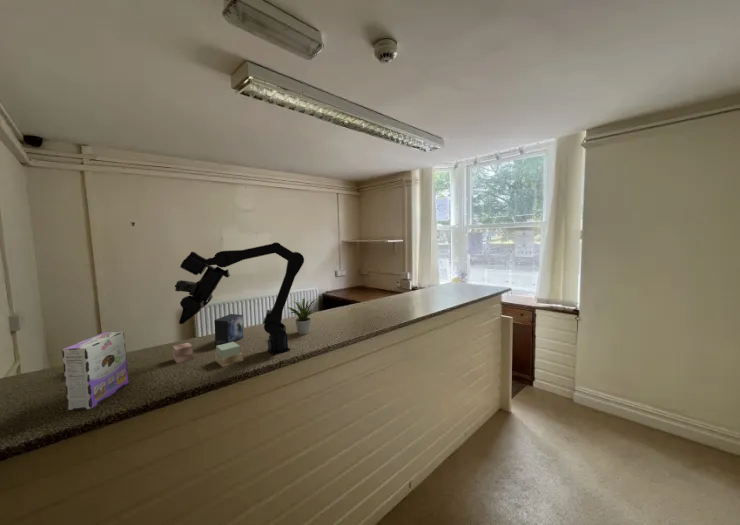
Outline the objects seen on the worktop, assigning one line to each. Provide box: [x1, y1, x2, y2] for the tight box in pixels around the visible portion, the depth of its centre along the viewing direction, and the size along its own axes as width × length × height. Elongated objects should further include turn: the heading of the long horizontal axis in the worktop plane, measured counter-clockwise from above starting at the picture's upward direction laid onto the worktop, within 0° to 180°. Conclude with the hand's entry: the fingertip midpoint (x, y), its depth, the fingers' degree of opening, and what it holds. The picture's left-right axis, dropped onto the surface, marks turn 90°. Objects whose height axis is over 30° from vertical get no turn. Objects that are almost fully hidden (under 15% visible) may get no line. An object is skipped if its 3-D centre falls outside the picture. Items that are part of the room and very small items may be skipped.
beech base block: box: [214, 351, 244, 368], centre depth 106 cm, size 7×7×3 cm
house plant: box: [286, 297, 318, 335], centre depth 137 cm, size 14×14×16 cm
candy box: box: [61, 330, 129, 411], centre depth 82 cm, size 14×6×16 cm, turn 5°
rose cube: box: [172, 342, 194, 364], centre depth 108 cm, size 5×5×5 cm
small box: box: [214, 313, 244, 346], centre depth 126 cm, size 11×6×10 cm, turn 168°
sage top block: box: [215, 342, 241, 359], centre depth 105 cm, size 6×6×3 cm
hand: (184, 320), depth 105 cm, fingers open, 9 cm apart
